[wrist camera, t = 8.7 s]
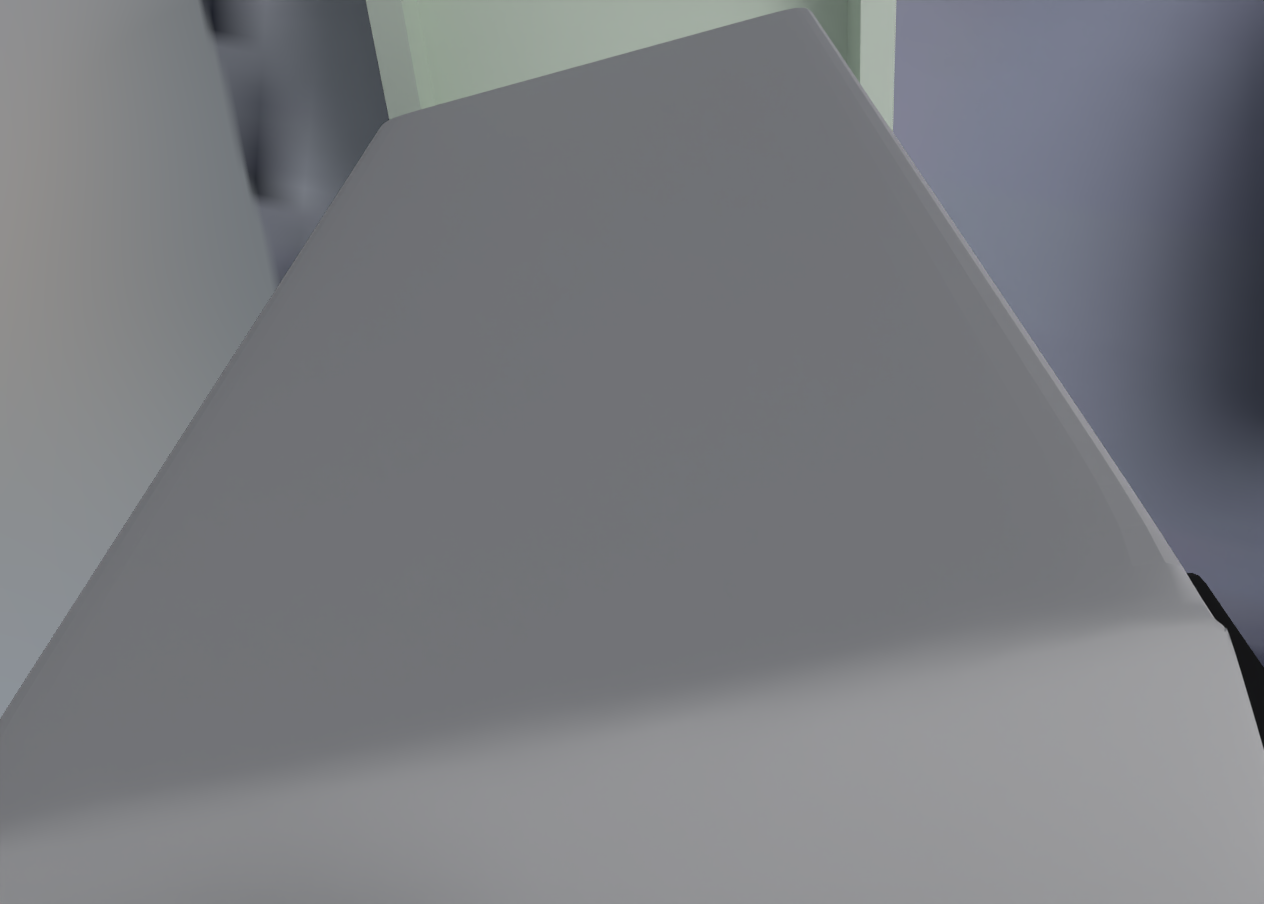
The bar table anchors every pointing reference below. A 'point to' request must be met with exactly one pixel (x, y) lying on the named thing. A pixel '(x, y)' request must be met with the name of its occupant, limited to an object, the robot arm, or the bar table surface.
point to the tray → (587, 40)
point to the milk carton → (637, 551)
